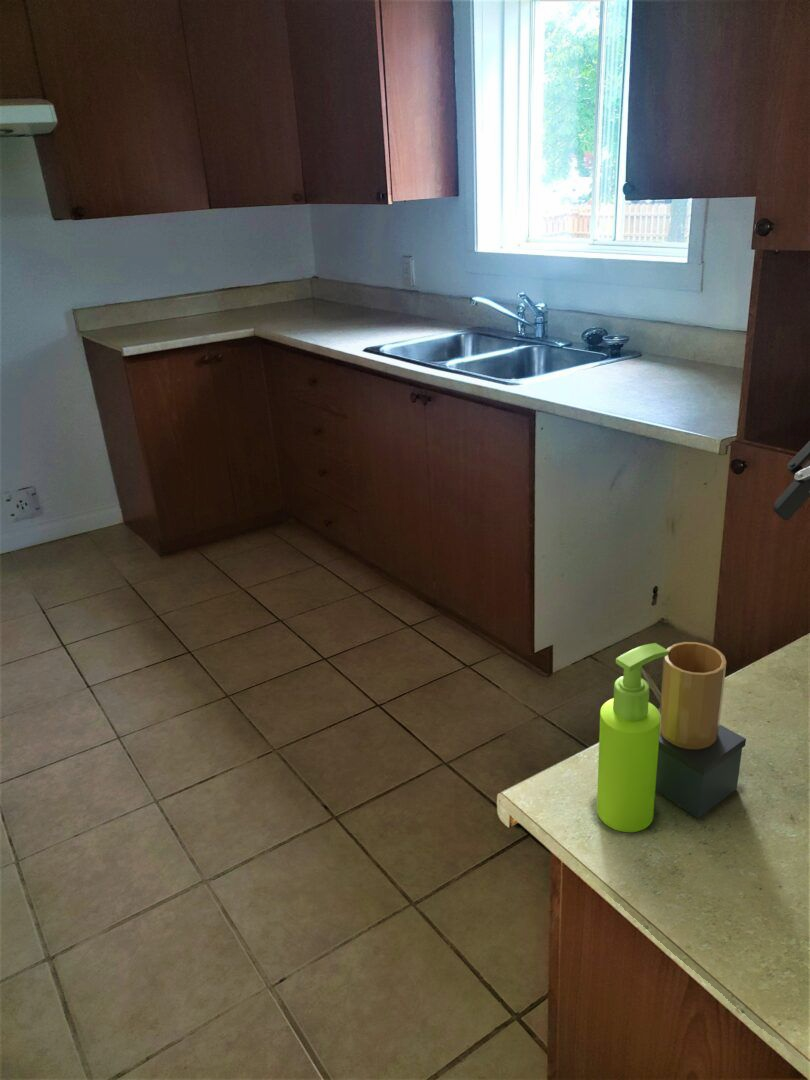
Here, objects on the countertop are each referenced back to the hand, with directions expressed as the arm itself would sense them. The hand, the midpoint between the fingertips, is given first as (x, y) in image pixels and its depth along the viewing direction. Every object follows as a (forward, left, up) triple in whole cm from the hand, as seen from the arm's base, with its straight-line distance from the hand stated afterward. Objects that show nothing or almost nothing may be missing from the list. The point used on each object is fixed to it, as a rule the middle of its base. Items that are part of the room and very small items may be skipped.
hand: (807, 531), depth 81 cm
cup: (+4, +11, -22) cm, 25 cm away
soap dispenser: (+5, +19, -29) cm, 35 cm away
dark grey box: (+4, +11, -29) cm, 31 cm away
